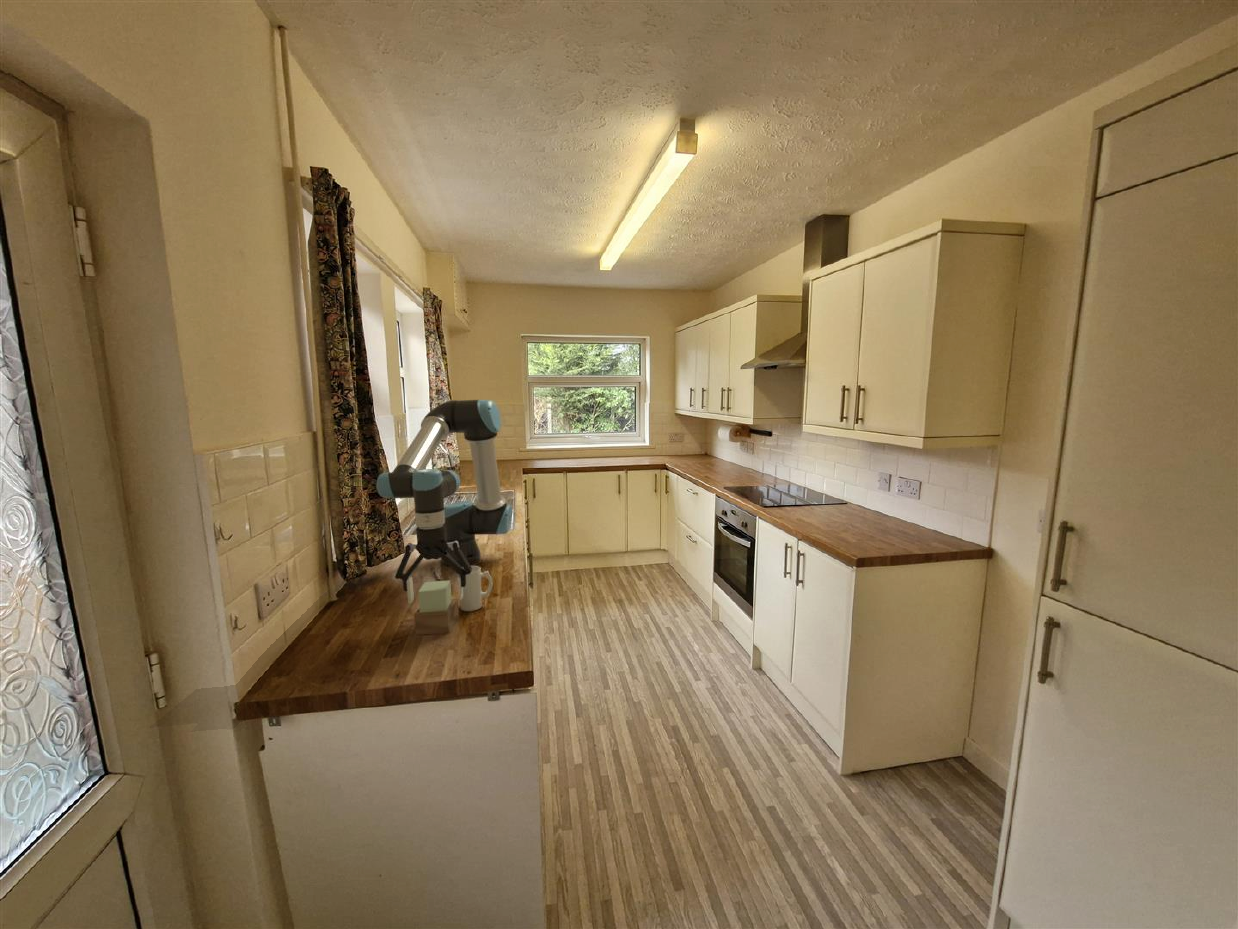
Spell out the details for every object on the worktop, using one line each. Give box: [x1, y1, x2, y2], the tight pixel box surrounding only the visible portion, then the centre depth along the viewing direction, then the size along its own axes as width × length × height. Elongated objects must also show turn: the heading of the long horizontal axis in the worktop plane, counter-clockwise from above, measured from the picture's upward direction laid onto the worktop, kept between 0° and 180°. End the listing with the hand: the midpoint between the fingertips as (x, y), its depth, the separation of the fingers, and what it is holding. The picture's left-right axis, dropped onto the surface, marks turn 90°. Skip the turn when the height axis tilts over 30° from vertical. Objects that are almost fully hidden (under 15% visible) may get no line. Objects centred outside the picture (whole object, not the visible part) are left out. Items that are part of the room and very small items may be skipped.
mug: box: [457, 565, 494, 612], centre depth 145 cm, size 10×7×12 cm, turn 103°
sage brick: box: [417, 580, 453, 613], centre depth 132 cm, size 7×7×6 cm
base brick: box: [413, 598, 460, 635], centre depth 133 cm, size 9×9×6 cm
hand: (436, 599), depth 133 cm, fingers open, 13 cm apart
